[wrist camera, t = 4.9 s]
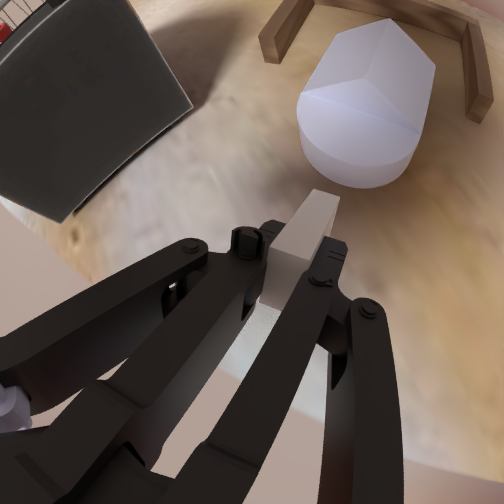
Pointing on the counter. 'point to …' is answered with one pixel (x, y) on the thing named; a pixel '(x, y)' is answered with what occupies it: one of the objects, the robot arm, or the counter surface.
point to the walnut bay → (406, 10)
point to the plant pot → (4, 31)
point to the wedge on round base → (366, 105)
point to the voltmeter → (78, 101)
